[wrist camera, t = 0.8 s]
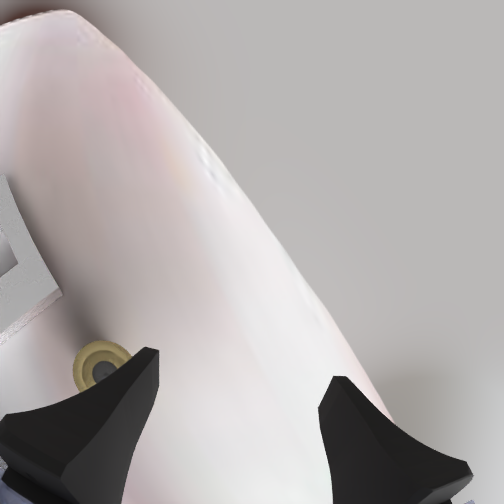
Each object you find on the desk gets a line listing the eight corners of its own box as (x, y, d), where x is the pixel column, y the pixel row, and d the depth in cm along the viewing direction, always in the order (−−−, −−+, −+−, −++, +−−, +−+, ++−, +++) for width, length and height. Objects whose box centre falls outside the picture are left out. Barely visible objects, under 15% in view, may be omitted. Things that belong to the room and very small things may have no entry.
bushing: (104, 405, 18) (106, 421, 13) (69, 363, 18) (59, 367, 13) (139, 373, 21) (152, 379, 16) (106, 333, 21) (108, 326, 16)
